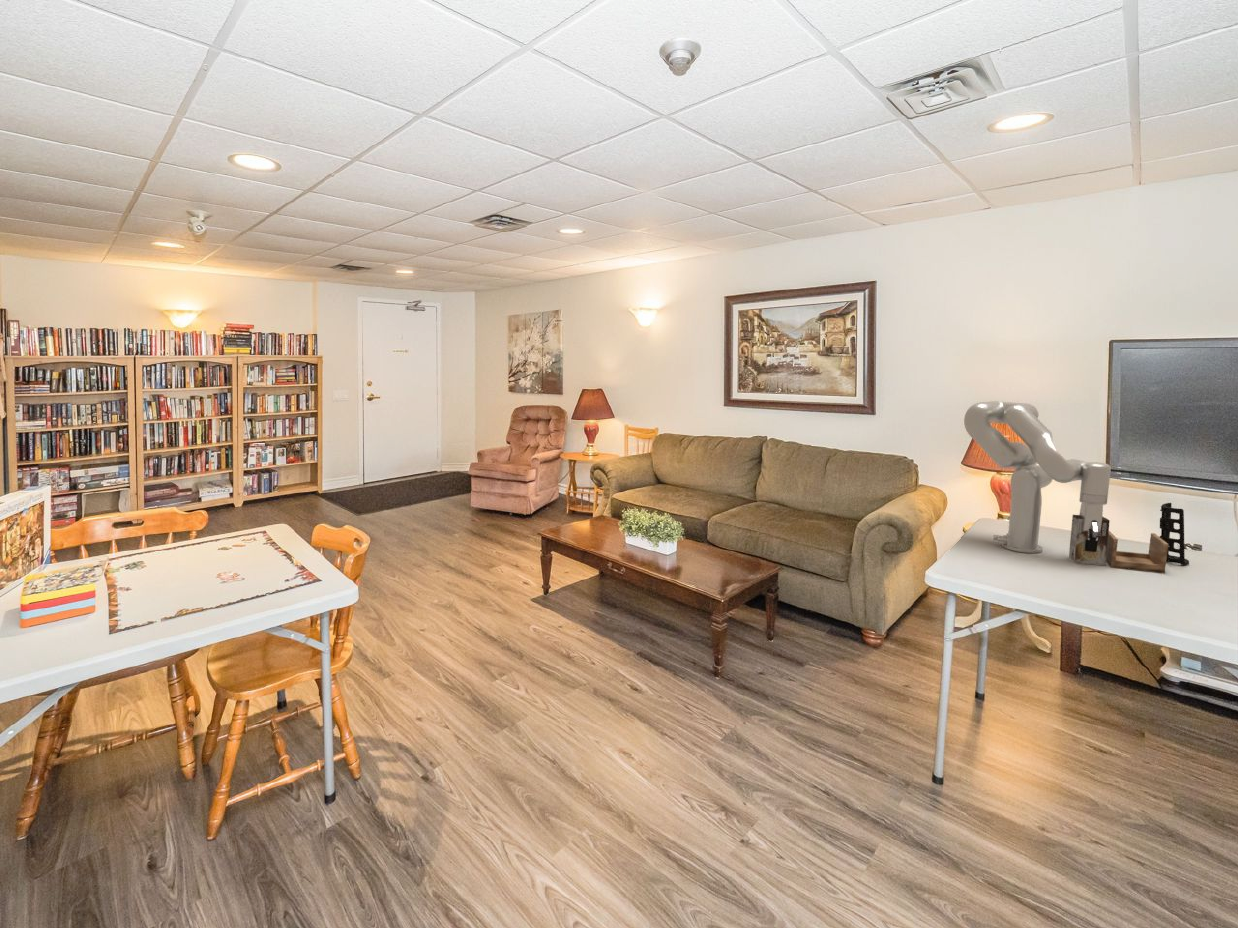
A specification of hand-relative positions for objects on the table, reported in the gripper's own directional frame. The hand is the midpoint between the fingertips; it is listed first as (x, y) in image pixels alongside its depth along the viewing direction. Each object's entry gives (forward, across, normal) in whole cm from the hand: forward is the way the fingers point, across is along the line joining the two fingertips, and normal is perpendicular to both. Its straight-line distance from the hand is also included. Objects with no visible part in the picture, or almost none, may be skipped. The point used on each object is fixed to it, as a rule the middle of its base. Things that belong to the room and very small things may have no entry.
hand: (1088, 547), depth 210 cm
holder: (+5, -13, +26) cm, 30 cm away
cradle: (+5, -3, +13) cm, 14 cm away
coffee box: (+5, 0, 0) cm, 5 cm away
